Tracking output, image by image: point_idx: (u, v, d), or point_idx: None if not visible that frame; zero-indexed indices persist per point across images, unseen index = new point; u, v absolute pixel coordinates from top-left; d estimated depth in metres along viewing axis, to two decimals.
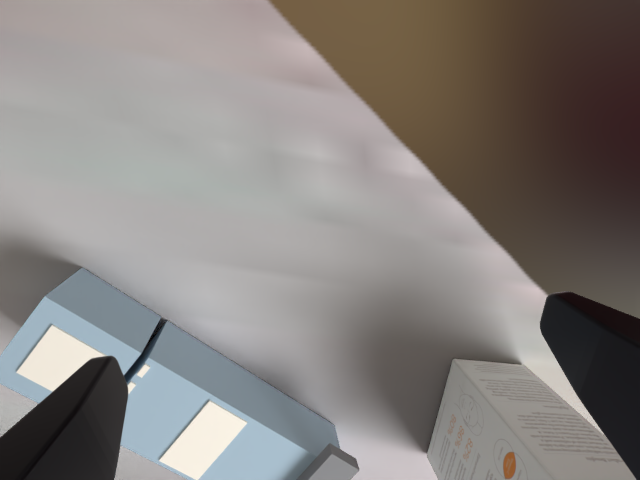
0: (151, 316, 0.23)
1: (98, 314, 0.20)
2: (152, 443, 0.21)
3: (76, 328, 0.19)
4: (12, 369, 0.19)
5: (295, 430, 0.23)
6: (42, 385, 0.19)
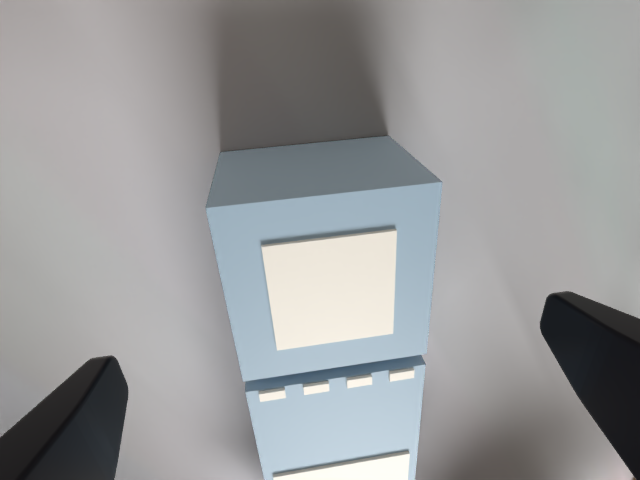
0: None
1: None
2: (290, 454, 0.12)
3: (412, 261, 0.10)
4: (258, 236, 0.09)
5: None
6: (268, 292, 0.09)
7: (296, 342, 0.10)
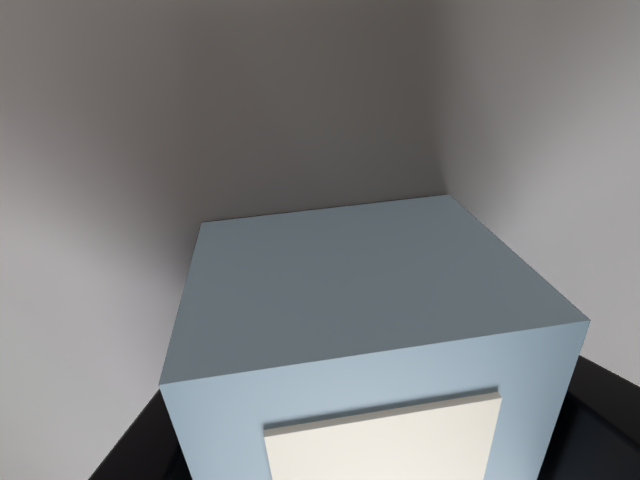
0: None
1: None
2: None
3: (517, 432, 0.06)
4: (259, 418, 0.05)
5: None
6: None
7: None
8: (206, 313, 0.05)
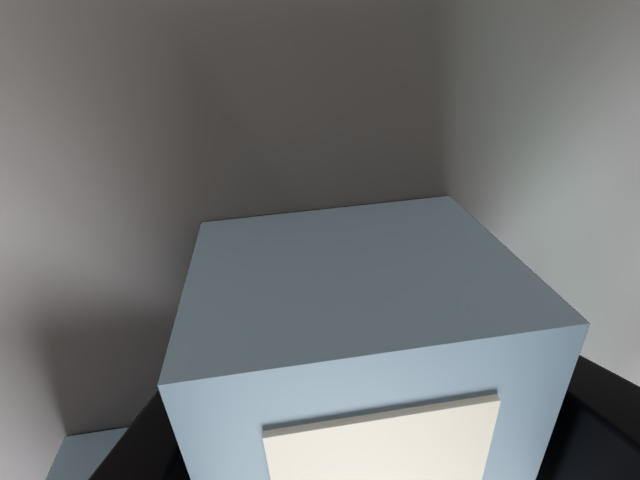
0: None
1: None
2: None
3: (515, 434, 0.06)
4: (258, 419, 0.05)
5: None
6: None
7: None
8: (205, 313, 0.05)
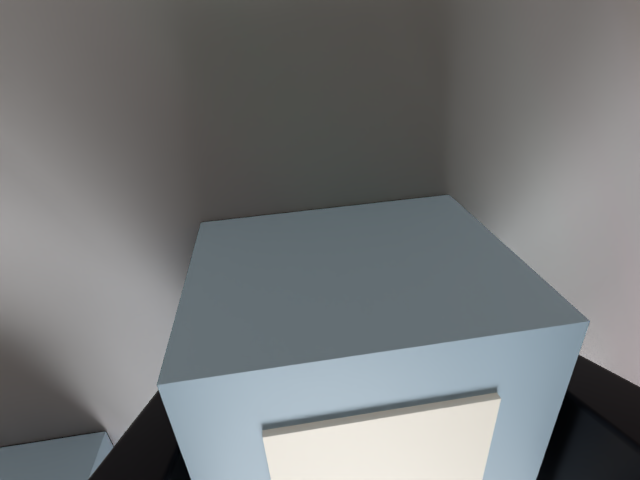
0: None
1: None
2: None
3: (515, 432, 0.06)
4: (257, 417, 0.05)
5: None
6: None
7: None
8: (205, 313, 0.05)
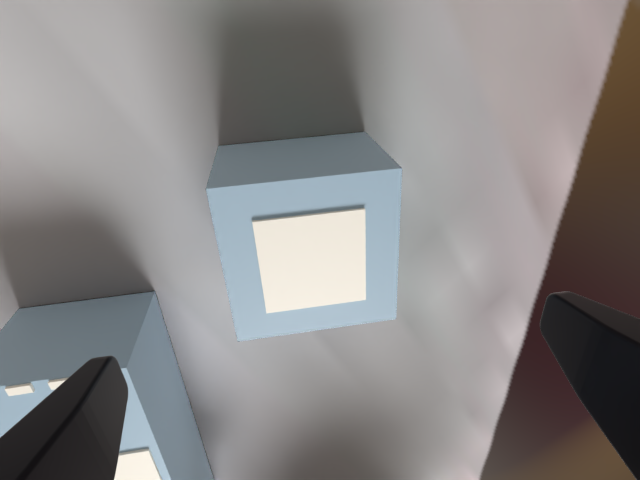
0: None
1: None
2: None
3: (379, 235, 0.11)
4: (250, 213, 0.10)
5: None
6: (258, 261, 0.11)
7: (282, 305, 0.12)
8: (224, 172, 0.11)
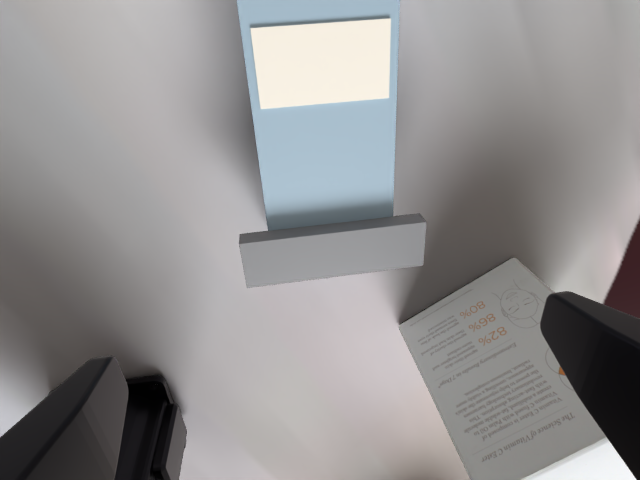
0: None
1: None
2: None
3: None
4: None
5: None
6: None
7: None
8: None
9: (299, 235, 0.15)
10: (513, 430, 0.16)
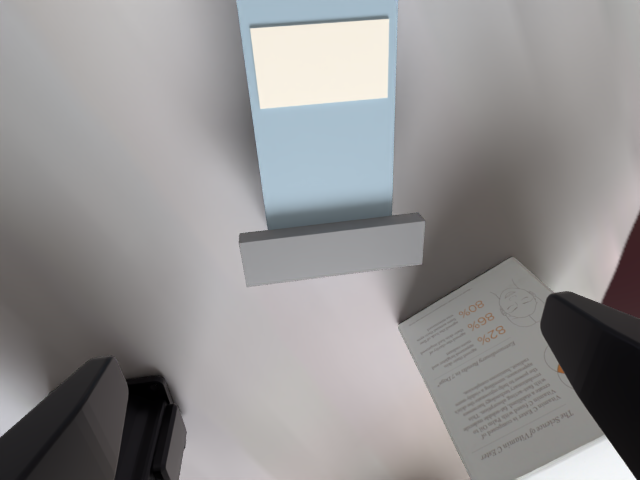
0: None
1: None
2: None
3: None
4: None
5: None
6: None
7: None
8: None
9: (299, 234, 0.15)
10: (512, 428, 0.17)
